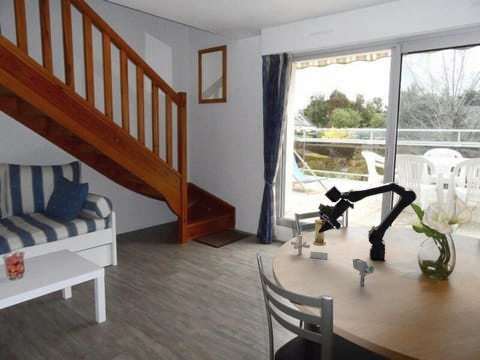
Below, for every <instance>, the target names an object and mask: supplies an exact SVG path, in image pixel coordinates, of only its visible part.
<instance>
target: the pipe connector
mask: <svg viewBox="0 0 480 360" xmlns="http://www.w3.org/2000/svg"><path fill="white" fill-rule="evenodd" d="M290 245H292V246H293V248H294V250H298V251H297V252H298V253H297V254H298V256H301V255H302V254H303V248H305V249H310V248H311V245H310V244H308V243H307V241H306V240H303V234H298V240H297V241H293V240H291V241H290Z"/></svg>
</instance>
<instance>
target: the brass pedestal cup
mask: <svg viewBox="0 0 480 360" xmlns="http://www.w3.org/2000/svg"><path fill="white" fill-rule="evenodd" d="M314 223H315V228H314V230H315V231H314V234H315V236H314V241H312V244H313V245H314V246H317V247H319V246H320V247H323V246H327V242H326V241H325V232H322V233H319V232H318V231H319V230H320V228H321V227H322V226H323V224H324V223H325V220H321V219H320V218H319V219H318V218H317V219H315V220H314Z"/></svg>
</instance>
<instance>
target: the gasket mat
mask: <svg viewBox="0 0 480 360" xmlns="http://www.w3.org/2000/svg"><path fill="white" fill-rule="evenodd" d="M328 257H329V253H328V252H321V251H310V255H309V259H314V258H315V260H316V259H317V260H329V258H328Z"/></svg>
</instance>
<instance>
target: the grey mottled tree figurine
mask: <svg viewBox="0 0 480 360" xmlns="http://www.w3.org/2000/svg"><path fill="white" fill-rule="evenodd" d="M352 266H353V269H354V270H356V271H359V276H360V280H359V286H360V287H363V286H365V280H366V279H365V277H366V276H368V275H371V274H374V271H375V267H374V266H373V265H368V262H367V261H364V260H362V259H360V258H353V259H352Z"/></svg>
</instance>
